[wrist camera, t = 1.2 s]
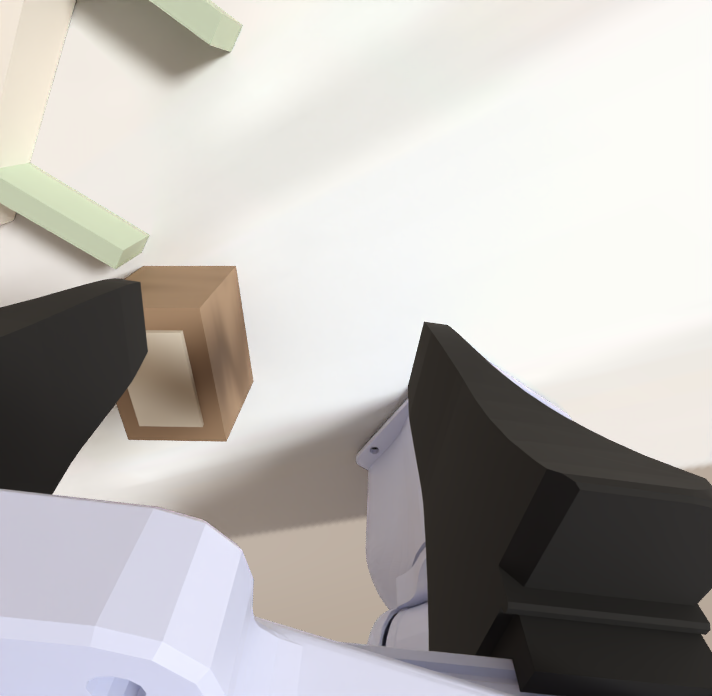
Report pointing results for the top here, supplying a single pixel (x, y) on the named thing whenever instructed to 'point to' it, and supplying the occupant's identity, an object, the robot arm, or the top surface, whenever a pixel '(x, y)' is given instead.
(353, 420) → the top surface
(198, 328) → the cardboard box
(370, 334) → the top surface
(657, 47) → the top surface
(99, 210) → the rack
